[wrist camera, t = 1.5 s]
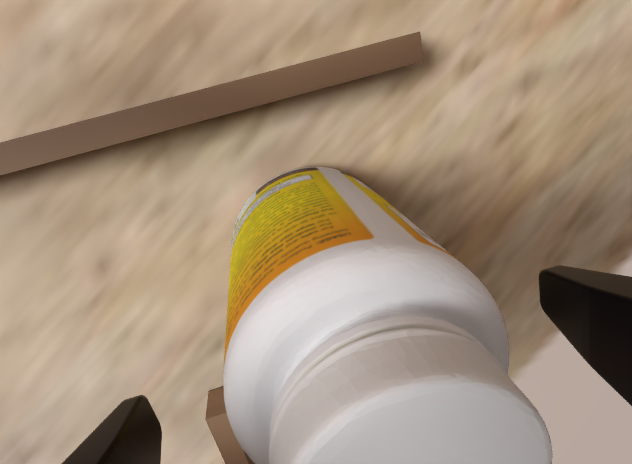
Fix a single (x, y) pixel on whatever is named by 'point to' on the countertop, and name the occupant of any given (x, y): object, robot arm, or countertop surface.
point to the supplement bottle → (363, 338)
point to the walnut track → (199, 109)
